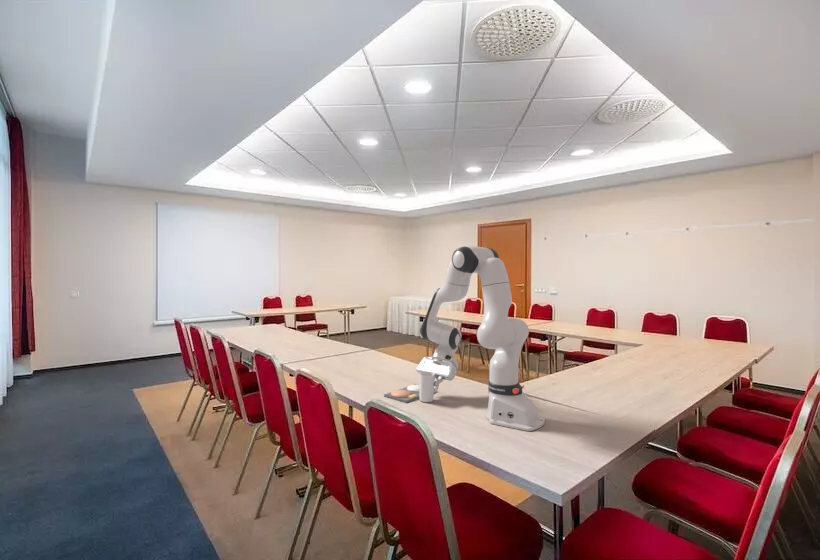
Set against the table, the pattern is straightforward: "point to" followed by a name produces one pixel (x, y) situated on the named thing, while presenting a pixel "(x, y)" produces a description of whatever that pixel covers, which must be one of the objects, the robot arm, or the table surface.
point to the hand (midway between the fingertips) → (428, 384)
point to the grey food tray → (405, 394)
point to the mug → (427, 386)
